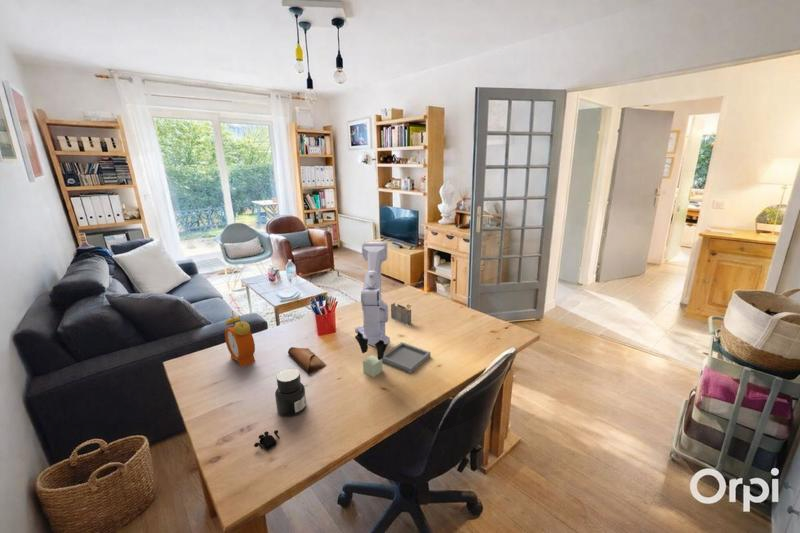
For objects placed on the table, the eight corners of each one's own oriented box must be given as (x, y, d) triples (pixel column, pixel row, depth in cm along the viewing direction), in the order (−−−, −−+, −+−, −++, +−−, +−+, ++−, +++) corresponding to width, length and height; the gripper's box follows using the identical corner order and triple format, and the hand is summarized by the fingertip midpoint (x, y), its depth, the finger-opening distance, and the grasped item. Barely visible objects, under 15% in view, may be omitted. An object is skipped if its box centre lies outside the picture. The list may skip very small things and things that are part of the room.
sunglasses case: (329, 365, 131) (319, 355, 127) (315, 380, 128) (305, 370, 124) (307, 347, 144) (298, 337, 140) (294, 360, 141) (284, 350, 137)
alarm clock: (227, 356, 137) (219, 310, 131) (242, 350, 142) (236, 305, 136) (241, 369, 129) (234, 320, 123) (257, 362, 133) (251, 315, 127)
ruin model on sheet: (411, 323, 166) (411, 305, 163) (407, 325, 164) (407, 306, 161) (395, 316, 173) (395, 298, 171) (391, 318, 171) (390, 300, 169)
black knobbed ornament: (260, 453, 90) (250, 439, 92) (260, 458, 91) (250, 444, 94) (284, 437, 95) (274, 424, 98) (283, 442, 96) (273, 430, 99)
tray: (380, 361, 134) (380, 356, 133) (401, 346, 144) (401, 342, 144) (410, 373, 126) (410, 368, 125) (430, 356, 136) (430, 352, 136)
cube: (363, 372, 127) (363, 360, 125) (372, 366, 130) (372, 354, 129) (373, 377, 124) (373, 365, 122) (382, 370, 128) (382, 359, 126)
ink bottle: (304, 416, 104) (301, 383, 101) (274, 420, 103) (270, 386, 100) (307, 396, 114) (304, 364, 110) (280, 399, 112) (276, 367, 109)
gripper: (348, 320, 122) (350, 353, 126) (380, 331, 114) (381, 367, 118) (362, 313, 128) (363, 346, 131) (393, 323, 119) (393, 358, 123)
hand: (372, 355), depth 125 cm, fingers open, 7 cm apart
